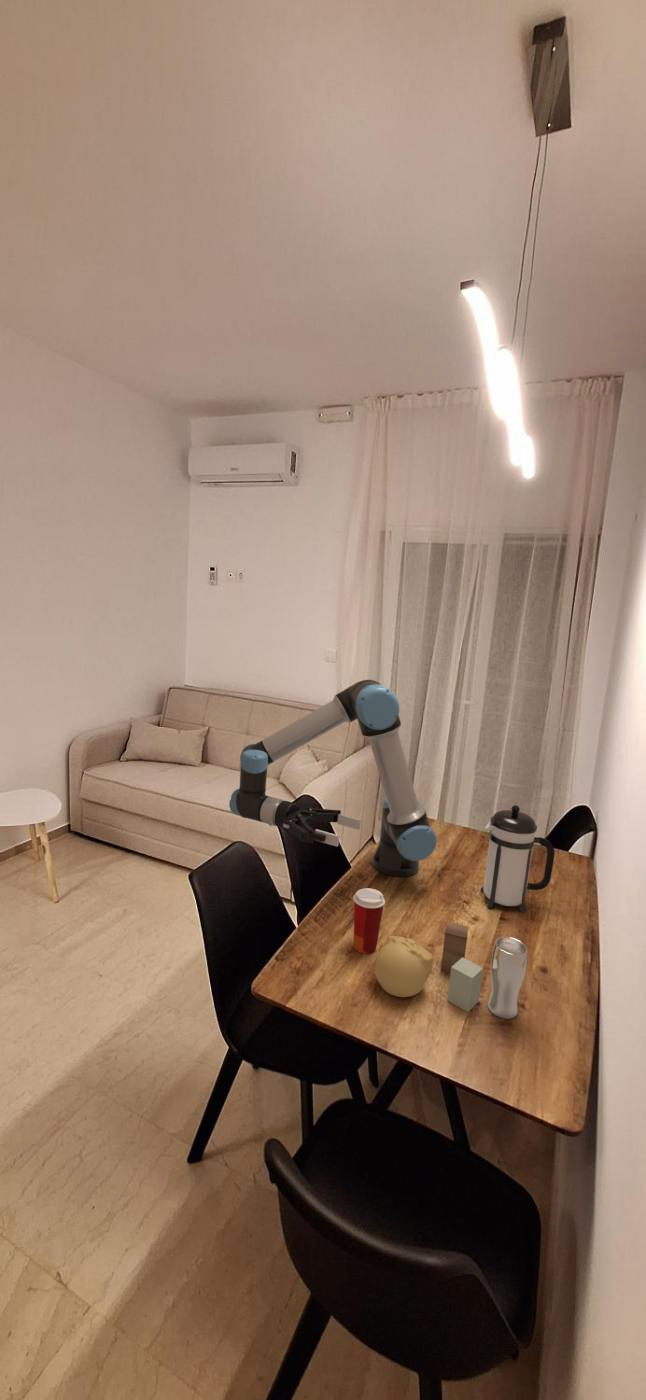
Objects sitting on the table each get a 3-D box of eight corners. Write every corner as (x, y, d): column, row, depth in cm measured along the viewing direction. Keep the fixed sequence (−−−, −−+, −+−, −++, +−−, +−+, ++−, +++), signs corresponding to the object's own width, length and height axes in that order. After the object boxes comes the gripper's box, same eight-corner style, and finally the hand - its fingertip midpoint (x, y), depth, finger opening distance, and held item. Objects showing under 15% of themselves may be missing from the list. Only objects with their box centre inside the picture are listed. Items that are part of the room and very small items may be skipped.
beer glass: (524, 1009, 122) (533, 946, 119) (511, 1025, 117) (520, 960, 114) (494, 993, 126) (502, 932, 124) (479, 1008, 121) (488, 944, 119)
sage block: (458, 989, 127) (462, 957, 125) (478, 1001, 123) (483, 968, 122) (447, 1000, 123) (451, 966, 122) (467, 1012, 120) (472, 978, 118)
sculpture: (437, 988, 126) (442, 944, 125) (404, 1012, 118) (409, 966, 116) (397, 963, 134) (401, 921, 133) (363, 984, 126) (367, 940, 124)
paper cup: (382, 942, 143) (387, 890, 140) (377, 959, 135) (382, 905, 133) (352, 935, 145) (357, 884, 142) (345, 952, 137) (350, 899, 135)
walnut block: (442, 959, 137) (446, 921, 136) (463, 964, 136) (468, 926, 134) (440, 971, 133) (445, 932, 131) (462, 977, 131) (467, 937, 129)
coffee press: (512, 922, 156) (526, 820, 151) (466, 896, 169) (478, 801, 164) (547, 906, 167) (562, 810, 162) (502, 883, 179) (514, 792, 174)
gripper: (301, 813, 168) (366, 831, 159) (254, 840, 146) (326, 863, 137) (303, 789, 167) (369, 805, 158) (255, 813, 145) (329, 834, 136)
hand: (349, 832), depth 147 cm, fingers open, 13 cm apart
